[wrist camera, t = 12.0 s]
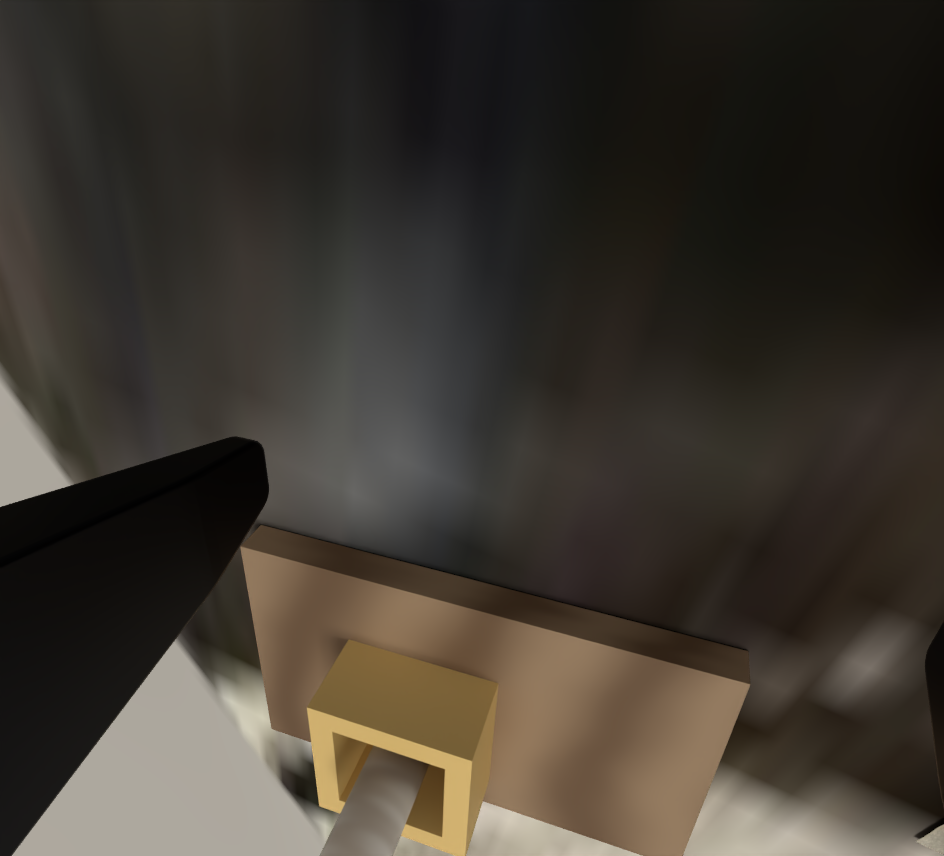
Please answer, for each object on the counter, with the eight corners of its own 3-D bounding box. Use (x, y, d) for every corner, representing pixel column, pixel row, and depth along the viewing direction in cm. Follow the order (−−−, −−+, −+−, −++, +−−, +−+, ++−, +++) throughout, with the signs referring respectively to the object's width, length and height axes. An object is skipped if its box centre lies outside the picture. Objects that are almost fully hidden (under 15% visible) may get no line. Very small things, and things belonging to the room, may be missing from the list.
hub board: (748, 651, 24) (762, 904, 17) (679, 833, 30) (668, 1074, 23) (261, 524, 29) (112, 680, 21) (287, 704, 35) (179, 871, 28)
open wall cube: (498, 683, 26) (472, 761, 24) (488, 780, 30) (464, 859, 27) (348, 639, 28) (306, 707, 25) (355, 736, 31) (319, 806, 28)
